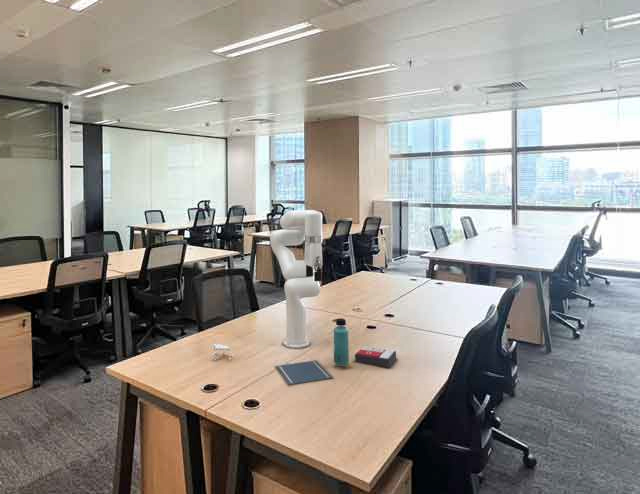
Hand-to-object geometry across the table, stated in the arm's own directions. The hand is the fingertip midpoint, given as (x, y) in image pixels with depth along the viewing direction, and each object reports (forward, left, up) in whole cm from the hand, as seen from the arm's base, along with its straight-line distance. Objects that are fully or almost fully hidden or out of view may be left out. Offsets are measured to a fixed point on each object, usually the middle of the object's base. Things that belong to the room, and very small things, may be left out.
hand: (313, 278), depth 186 cm
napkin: (+10, -9, -36) cm, 38 cm away
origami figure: (-16, -38, -36) cm, 55 cm away
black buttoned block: (+9, +25, -36) cm, 45 cm away
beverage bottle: (+10, +8, -36) cm, 38 cm away
